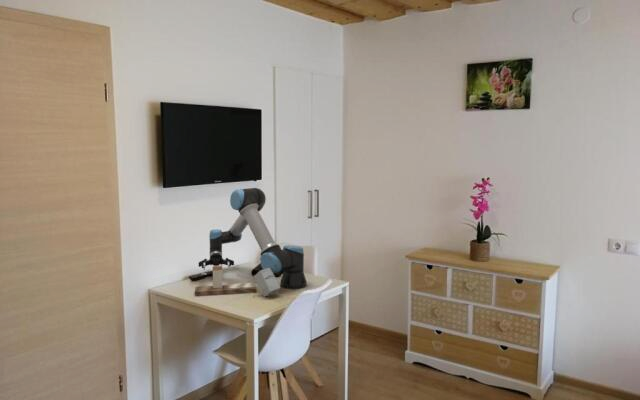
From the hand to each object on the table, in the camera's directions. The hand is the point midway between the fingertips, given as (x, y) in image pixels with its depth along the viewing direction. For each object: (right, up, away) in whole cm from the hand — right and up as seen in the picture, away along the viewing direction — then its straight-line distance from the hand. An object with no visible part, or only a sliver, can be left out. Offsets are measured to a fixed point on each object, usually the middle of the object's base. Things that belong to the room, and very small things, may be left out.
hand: (216, 267), depth 289 cm
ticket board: (+7, -13, -8) cm, 16 cm away
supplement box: (+33, -11, -17) cm, 39 cm away
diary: (+27, -8, +36) cm, 46 cm away
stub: (+2, -10, -9) cm, 14 cm away
